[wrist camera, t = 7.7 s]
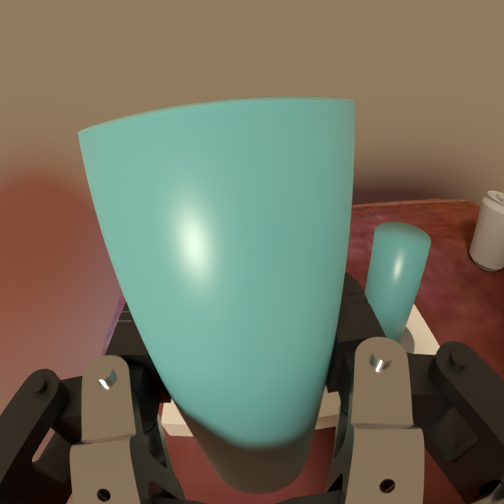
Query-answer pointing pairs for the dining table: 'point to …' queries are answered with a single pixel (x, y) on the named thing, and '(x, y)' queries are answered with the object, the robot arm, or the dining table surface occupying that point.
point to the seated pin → (395, 274)
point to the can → (489, 233)
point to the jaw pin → (233, 263)
